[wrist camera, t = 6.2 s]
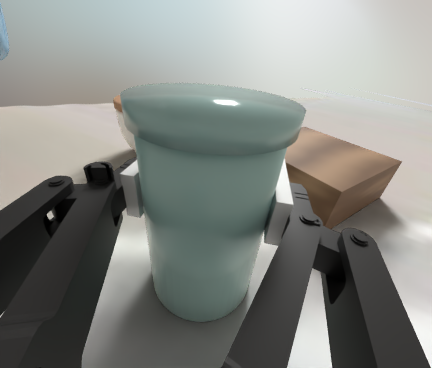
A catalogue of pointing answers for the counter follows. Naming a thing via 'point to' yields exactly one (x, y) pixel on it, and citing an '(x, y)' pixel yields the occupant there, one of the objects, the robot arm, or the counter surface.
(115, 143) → the counter surface
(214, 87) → the canister
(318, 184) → the slab
